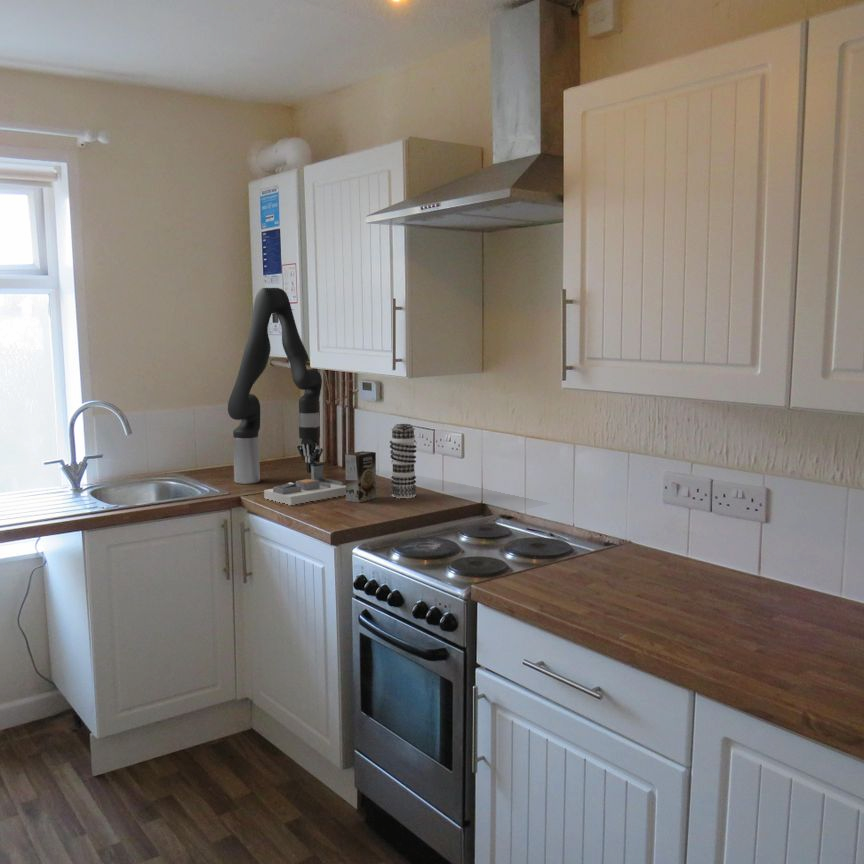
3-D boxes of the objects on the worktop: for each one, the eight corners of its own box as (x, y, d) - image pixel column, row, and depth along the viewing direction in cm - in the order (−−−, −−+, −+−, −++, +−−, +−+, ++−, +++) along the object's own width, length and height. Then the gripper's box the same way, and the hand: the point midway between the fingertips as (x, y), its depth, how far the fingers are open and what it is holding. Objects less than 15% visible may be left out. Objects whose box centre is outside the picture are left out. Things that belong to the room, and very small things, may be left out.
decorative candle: (388, 493, 299) (387, 423, 296) (415, 492, 301) (414, 422, 298) (392, 499, 290) (391, 426, 287) (418, 498, 292) (418, 425, 289)
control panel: (264, 498, 293) (263, 483, 292) (323, 488, 310) (322, 473, 309) (291, 505, 281) (290, 489, 281) (350, 494, 299) (350, 479, 298)
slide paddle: (310, 482, 305) (310, 463, 304) (320, 480, 308) (320, 462, 307) (313, 483, 303) (313, 464, 302) (323, 481, 306) (323, 462, 305)
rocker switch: (277, 490, 289) (277, 486, 289) (290, 485, 292) (289, 481, 292) (283, 491, 286) (283, 488, 286) (296, 486, 290) (295, 483, 289)
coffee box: (359, 503, 285) (358, 455, 283) (345, 500, 289) (344, 453, 287) (377, 498, 292) (376, 451, 290) (363, 496, 296) (362, 450, 294)
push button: (299, 487, 295) (299, 480, 295) (309, 485, 298) (308, 479, 298) (306, 489, 292) (306, 482, 292) (315, 487, 295) (315, 480, 295)
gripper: (289, 424, 308) (291, 471, 310) (311, 427, 298) (313, 476, 301) (307, 422, 313) (308, 469, 315) (328, 425, 304) (330, 473, 306)
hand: (310, 472), depth 308 cm, fingers closed
